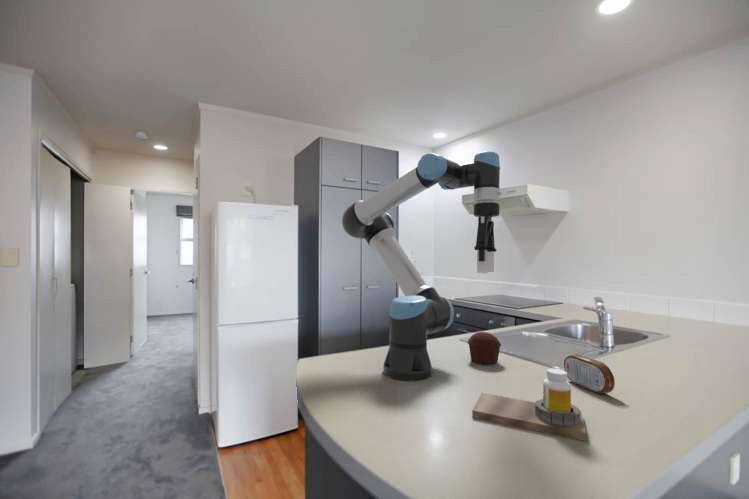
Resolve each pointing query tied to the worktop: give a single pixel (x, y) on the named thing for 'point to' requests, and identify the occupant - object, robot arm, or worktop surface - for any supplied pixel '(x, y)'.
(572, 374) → the tin
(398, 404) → the worktop surface
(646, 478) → the worktop surface
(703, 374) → the worktop surface
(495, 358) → the muffin
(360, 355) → the worktop surface
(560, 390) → the supplement bottle
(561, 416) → the board
